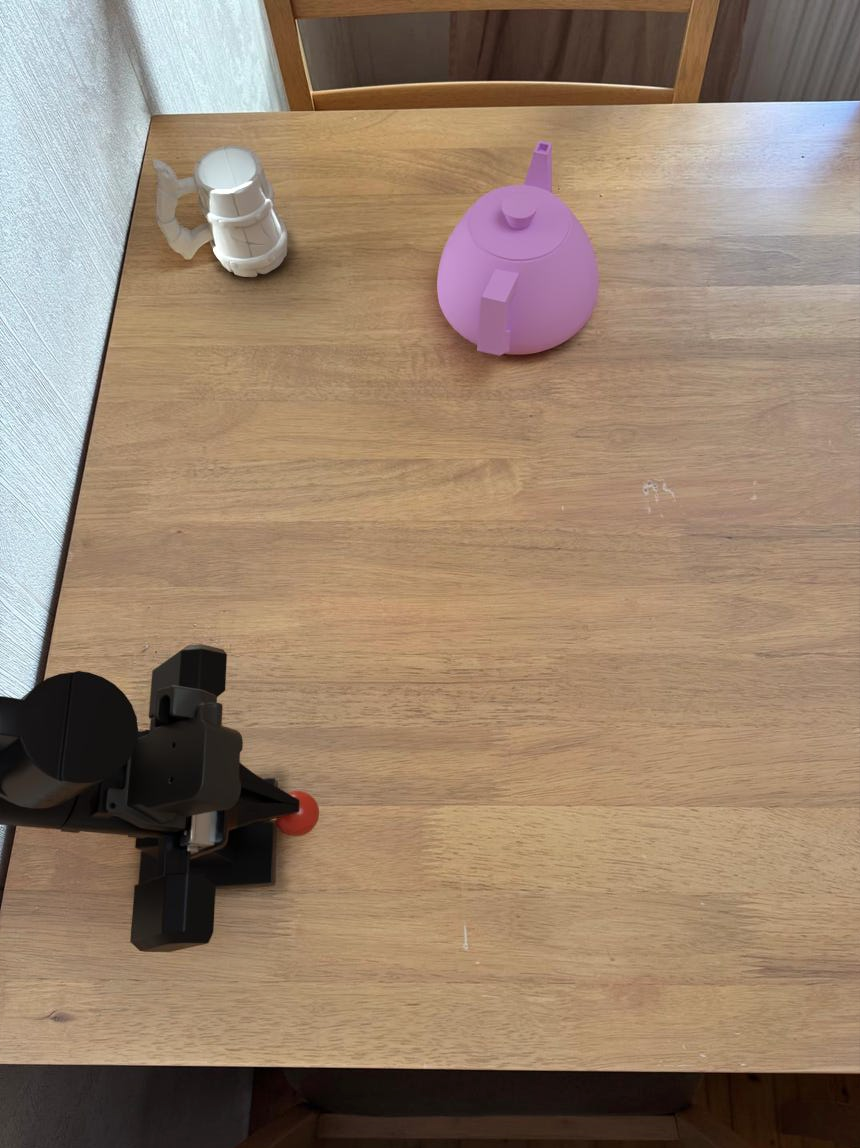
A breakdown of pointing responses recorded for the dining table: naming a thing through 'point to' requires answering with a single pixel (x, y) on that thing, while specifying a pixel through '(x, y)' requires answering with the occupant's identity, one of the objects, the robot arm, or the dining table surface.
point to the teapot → (519, 268)
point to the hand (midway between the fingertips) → (296, 807)
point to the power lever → (299, 816)
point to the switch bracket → (227, 857)
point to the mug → (225, 211)
